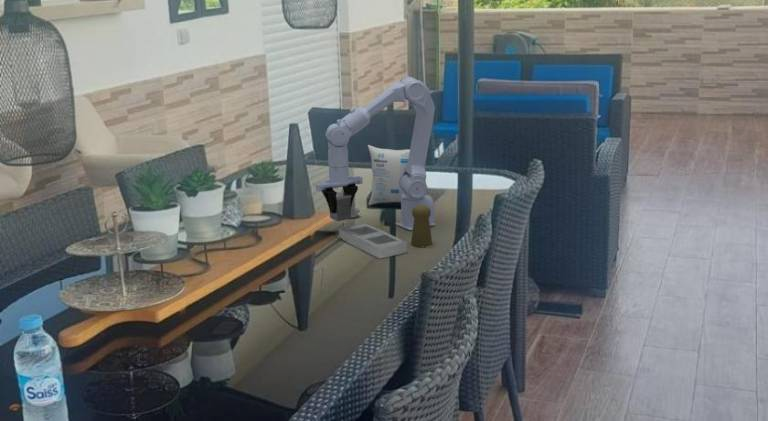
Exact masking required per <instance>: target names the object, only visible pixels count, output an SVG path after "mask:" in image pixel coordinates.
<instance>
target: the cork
mask: <svg viewBox="0 0 768 421" xmlns="http://www.w3.org/2000/svg"><path fill="white" fill-rule="evenodd" d="M412 215H413V217H414V224H413V230H412V233H411V241H410V245H411V247H415V248H423V247H422V246H429V247H431V246H433V238H432V232H431V231H432V230H431V226H430V223H429V217H430V215H431V210H430V208H429V207H428V206H423V205H420V206H415V207H414V208H413V210H412ZM430 245H431V246H430Z"/></svg>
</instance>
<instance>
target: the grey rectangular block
mask: <svg viewBox="0 0 768 421" xmlns="http://www.w3.org/2000/svg"><path fill="white" fill-rule="evenodd" d="M350 198H351V195H350V194H348V193H345V192H344V191H338V192H337V193H336V200H335V206H336V212H335V213H331V212H330V211H329V219H331V220H334V221H336V222H341V221H347V220H351V219H352V218H351V200H350Z"/></svg>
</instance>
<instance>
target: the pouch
mask: <svg viewBox="0 0 768 421" xmlns="http://www.w3.org/2000/svg"><path fill="white" fill-rule="evenodd" d="M367 147H368V151H369V155H370V160H371V161H370V162H371V172H372V182H371V196H370V199H369V202H368V206H372V205H375V204H380V203H401V194H402V192H403V190H402V189H401V188H400V186H399V179H400V177H401V176H402V174H403V172H404V168H405V166H406V165H407V163H408V159H409V153H410V149H407V148H406V149H392V148H391V149H390V148H379V147H376V146H373V145H370V144H368V145H367Z"/></svg>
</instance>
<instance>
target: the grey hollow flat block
mask: <svg viewBox="0 0 768 421" xmlns="http://www.w3.org/2000/svg"><path fill="white" fill-rule="evenodd" d="M339 237H341V238H342V239H344V240H345V241H346V242H345V241H344V242H345V243H347V244H349V245H350V246H352V247H355V248H356V249H358V250H361V251H363V252H365V253H366V254H369V255H371V256H372V257H374V258H376V259H379V260H381V259H385V258H389V257H394V256H398V255H404V254H407V253H408V241H405V240H404V239H401V238H399V237H397V236H394V235H392V234H390V233H387V232H385V231H383V230H381V229H379V228H376V227H374V226H372V225H370V224H368V223H360V224H355V225H350V226H346V227H340V228H338V238H339Z"/></svg>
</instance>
